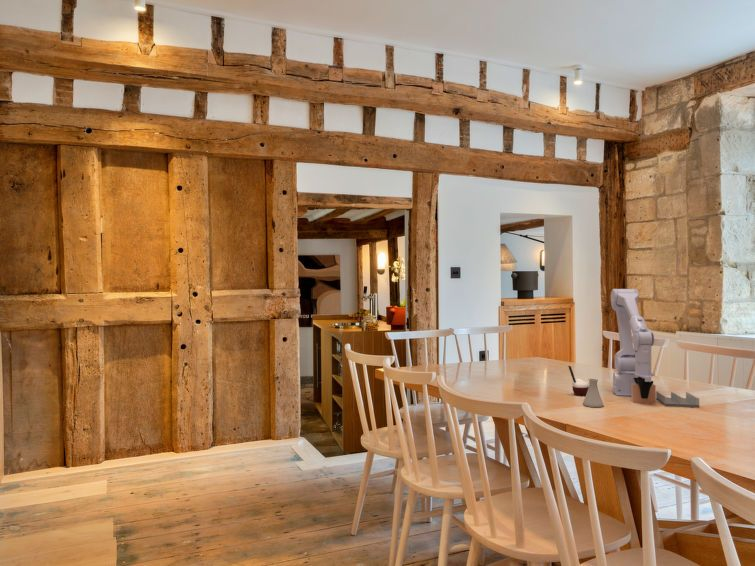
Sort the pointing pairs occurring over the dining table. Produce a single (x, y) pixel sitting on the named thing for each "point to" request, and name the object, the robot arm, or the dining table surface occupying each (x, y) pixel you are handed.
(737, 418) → the dining table surface
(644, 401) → the terracotta tile
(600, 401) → the flask
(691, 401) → the dish rack
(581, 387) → the cocoa
